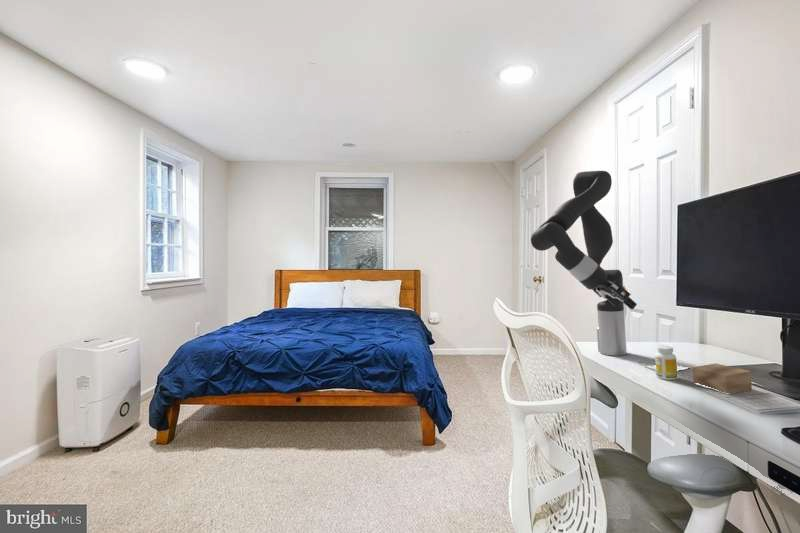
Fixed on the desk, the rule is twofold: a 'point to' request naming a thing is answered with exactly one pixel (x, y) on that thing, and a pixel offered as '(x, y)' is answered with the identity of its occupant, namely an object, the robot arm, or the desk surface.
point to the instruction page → (650, 367)
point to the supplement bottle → (665, 363)
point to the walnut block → (723, 378)
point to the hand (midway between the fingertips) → (625, 305)
